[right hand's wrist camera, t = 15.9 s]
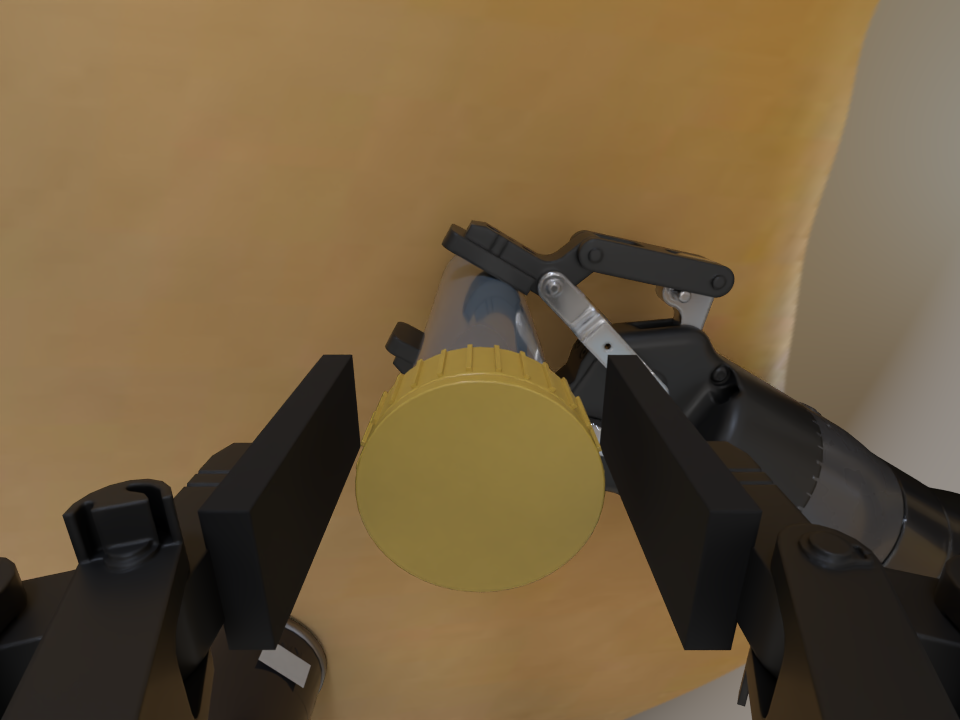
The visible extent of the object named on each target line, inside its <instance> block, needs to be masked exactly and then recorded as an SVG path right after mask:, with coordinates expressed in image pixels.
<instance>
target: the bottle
mask: <svg viewBox="0 0 960 720" xmlns="http://www.w3.org/2000/svg"><path fill="white" fill-rule="evenodd" d="M469 344H472V345H473V347H490V348H494V345H499V347H500V349H504V350H509V351H513V352H516V353H520V351H523V352H525V355H526V356H527V357H529V358H531V359H534V360H536V361H538V362H539V363H541V364H543V362H546V360H545V357H544V354H543V351H542V347H541V344H540V341H539V338H538V335H537V332H536V329H535V326H534V323H533V320H532V317H531V314H530V311H529V308H528V305H527V302H526V299H525V295H524V294H523V293H521V292H519V291H518V290H516V289H514V288H513V287H511V286H510V285H508V284H506V283H504V282H502V281H501V280H499V279H497V278H495V277H494V276H492V275H490V274H488V273H487V272H485V271H483V270H482V269H480V268H478V267H476V266H475V265H473V264H471V263H470V262H468V261H466V260H464V259H463V258H461V257H459V256H458V255H455V256H454V257H453V258H452V259H451V260H450V261H449V263H448V264H447V266H446V268H445V270H444V273H443V276H442V279H441V282H440V285H439V288H438V291H437V294H436V297H435V300H434V303H433V306H432V309H431V312H430V315H429V318H428V321H427V325H426V328H425V331H424V334H423V337H422V340H421V343H420V346H419V349H418V352H417V355H416V358H415V361H414V364H413V367H415V366H416V365H417V361H418V360H420V359H422V360H423V361H425V360H427V359H429V358H431V357H433V356H435V355H438V354H441V350H443V349H446V350H447V351H451V350H456V349H461V348H467V345H469ZM413 367H412V368H413Z"/></svg>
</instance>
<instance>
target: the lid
mask: <svg viewBox="0 0 960 720" xmlns="http://www.w3.org/2000/svg"><path fill="white" fill-rule="evenodd" d="M360 445H361V446H363V450H362V452H361V455H360V457H359V460H358V462H357V465H356V469H357V471H356V479H355V490H356V500H357V505H358V510H359V513H360V516H361V518H362V521H363V524H364V526H365V528H366V530H367V531H368V533H369V535H370V537H371V538H372V539H373V541H374V542H375V544H376V545H377V547H378V548H379V549H380V550H381V551H382V552H383V553H384V554H385V555H386V556H387V557H388V558H389V559H390V560H391V561H393V562H394V563H395V564H396V565H397V566H399V567H400V568H402V569H403V570H405V571H406V572H408V573H409V574H411V575H413V576H415V577H417V578H419V579H421V580H423V581H426V582H428V583H431V584H434V585H437V586H440V587H444V588H448V589H452V590H459V591H466V592H494V591H502V590H508V589H513V588H516V587H520V586H524V585H527V584H529V583H532V582H535V581H537V580H540V579H542V578H543V577H545V576H547V575H549V574H551V573H553V572H554V571H556V570H557V569H559V568H560V567H562V566H563V565H564V564H566V563H567V562H568V561H569V560H570V559H571V558H573V557H574V556H575V555H576V554H577V553H578V551H579V550H580V549H581V548H582V547H583V546H584V545H585V543H586V542H587V540H588V539H589V537H590V536H591V534H592V533H593V531H594V529H595V527H596V525H597V522H598V520H599V517H600V514H601V511H602V508H603V503H604V497H605V471H604V468H603V464H602V460H601V457H600V454H599V452H600V451H602V449H601V446H600V444H599V441H598V439H597V437H596V434H595V432H594V430H593V427H592V425H591V422H590V420H589V418H588V415H587V413H586V410H585V408H584V406H583V403H582V401H581V399H580V397H579V396H577V397H575V396H574V395H573V393H572V392H571V390H570V387H569V384H568V382H567V380H566V379H565V378H564V377H563V378H562V379H560V377H558V376H557V375H556V374H555V373H554V372H552V371H551V370H550V369H549V366H548V364H547V363H546V362H543V364H541V363H539V362H538V361H536V360H534V359H531V358H529V357H527V356H526V355H525V352H523V351H520V353H516V352H513V351H509V350H504V349H500V347H499V345H494V348H490V347H473V345H472V344H469V345H467V348H461V349H456V350H451V351H447V350H446V349H443V350H441V354H438V355H435V356H433V357H431V358H429V359H427V360H425V361H423V360H422V359H420V360H418V361H417V365H416V366H415V367H413V368H412V369H410V370H409V371H408V372H407V373H406V374H405V375H403V374H402V373H400V374H399V375H398V377H397V379H396V382H395V384H394V386H393V387H392V388H391V389H390V391H389V392H388V393H387V392H386V391H384V393H383V395H382V397H381V399H380V402H379V404H378V407H377V409H376V411H375V412H374V413H373V415H372V418H371V420H370V422H369V425H368V427H367V430H366V432H365V434H364V437H363V439H362V441H361V444H360Z"/></svg>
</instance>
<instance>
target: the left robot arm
mask: <svg viewBox="0 0 960 720" xmlns="http://www.w3.org/2000/svg"><path fill="white" fill-rule="evenodd" d="M442 245H443V246H444V247H445V248H446V249H448V250H449V251H451V252H452V253H454V254H456V255H458V256H459V257H461V258H463V259H464V260H466V261H468V262H470V263H471V264H473V265H475V266H476V267H478V268H480V269H482V270H483V271H485V272H487V273H488V274H490V275H492V276H494V277H495V278H497V279H499V280H501V281H502V282H504V283H506V284H508V285H510V286H511V287H513V288H514V289H516V290H518V291H519V292H521V293H523V294H525V295H526V296H527V294H528V293H529V291H532V292H534V293H536V294H537V295H539V296H540V297H541V298H542V300H543V301H544V302H545V303H546V304H547V305H548V306H549V307H550V308H551V309H552V310H553V311H554V312H555V313H556V314H557V315H558V316H559V317H560V318H561V319H562V321H563V322H564V323H565V324H566V325H567V326H568V327H569V328H570V329H571V330H572V331H573V333H574V334H575V335H576V336H577V338H578V339H577V341H576V342H575V344H574V345H573V347H572V350H571V353H570V356H569V359H568V362H567V363H566V364H565V365H564V366H563V367H562V368H561V369H560V370H558V371H557V372H556V373H555V374H556V375H557V376H558V377H560V379H562V378H563V377H564V378H565V379H566V380H567V382H568V384H569V387H570V390H571V392H572V393H573V395H574V396H575V397H577V396H579V397H580V399H581V401H582V403H583V406H584V408H585V410H586V413H587V415H588V418H589V420H590V422H591V425H592V427H593V430H594V432H595V434H596V437H597V439H598V441H599V444H600V434H601V423H602V413H603V402H604V391H605V380H606V369H607V358H608V355H637V356H638V357H639V358H640V359H641V361H642V362H643V363H644V364H645V366H646V367H647V368H648V369H649V371H650V372H651V373H652V374H653V376H654V377H655V378H656V379H657V381H658V382H659V383H660V384H661V386H662V387H663V388H664V389H665V391H666V392H667V393H668V394H669V395H670V397H671V398H672V399H673V400H674V402H675V403H676V404H677V405H678V407H679V408H680V409H681V410H682V412H683V413H684V414H685V415H686V417H687V418H688V419H689V420H690V422H691V423H692V424H693V425H694V427H695V428H696V429H697V430H698V432H699V433H700V434H701V435H702V437H703V438H704V439H705V440H706V441H727V442H729V443H730V444H732V445H734V446H736V447H737V448H739V449H741V450H742V451H744V452H746V453H747V454H749V455H750V457H751V458H752V459H753V460H754V461H755V462H756V463H757V464H758V465H759V466H760V468H761V469H762V472H765V473H766V474H767V475H768V476H769V477H770V479H771V480H772V481H773V484H774V485H777V486H778V487H779V488H780V489H781V491H782V492H783V493H784V494H785V495H786V496H787V497H788V498H789V499H790V500H791V502H792V503H793V504H794V505H795V506H796V507H797V508H798V509H799V510H800V511H801V513H802V514H803V515H804V516H805V517H806V518H807V519H808V520H809V521H810V522H811V523H812V524H818V525H821V526H825V527H828V528H832V529H835V530H838V531H840V532H842V533H844V534H846V535H849V536H851V537H853V538H855V539H857V540H858V541H859V542H861V543H862V544H863V545H865V546H866V547H868V548H869V549H870V550H872V552H873V553H874V554H875V555H876V557H877V558H878V559H879V560H880V562H881V563H882V565H883V567H886V568H890V569H895V570H899V571H904V572H909V573H914V574H919V575H923V576H928V577H933V578H938V579H939V578H940V576H941V573H942V571H943V568H944V566H945V563H946V561H947V560H949V559H950V558H952V557H953V556H955V555H960V494H958V493H954V492H950V491H945V490H940V489H935V488H929V487H927V486H926V485H924V484H922V483H921V482H919V481H918V480H916V479H914V478H913V477H911V476H909V475H908V474H906V473H904V472H903V471H901V470H899V469H898V468H896V467H894V466H893V465H891V464H889V463H888V462H886V461H884V460H883V459H881V458H879V457H878V456H876V455H875V454H873V453H872V452H870V451H869V450H868V449H867V448H866V447H865V446H864V445H862V444H861V443H860V442H859V441H858V440H856V439H855V438H854V437H853V436H851V435H850V434H849V433H848V432H846V431H845V430H843V429H842V428H840V427H839V426H837V425H836V424H834V423H832V422H830V421H829V420H827V419H826V418H824V417H822V416H821V414H820V413H819V412H817V411H816V410H815V409H814V408H812V407H810V406H808V405H806V404H804V403H801V402H797V401H796V400H794V399H793V398H791V397H789V396H788V395H786V394H784V393H783V392H781V391H779V390H778V389H776V388H774V387H773V386H771V385H769V384H768V383H766V382H764V381H763V380H761V379H759V378H758V377H756V376H754V375H753V374H751V373H749V372H748V371H746V370H744V369H743V368H741V367H740V366H738V365H736V364H735V363H733V362H731V361H730V360H728V359H726V358H725V357H723V356H721V355H720V354H718V353H717V352H716V351H715V350H714V348H713V346H712V344H711V342H710V339H709V338H708V336H707V335H706V334H705V333H704V332H703V331H702V328H703V326H704V323H705V321H706V318H707V315H708V313H709V310H710V307H711V305H712V302H713V299H714V298H717V297H721V296H724V295H725V294H727V293H728V292H729V291H730V290H731V288H732V287H733V284H734V274H733V272H732V271H731V270H730V269H729V268H727V267H725V266H723V265H721V264H719V263H716V262H714V261H712V260H709V259H707V258H705V257H702V256H700V255H696V254H691V253H687V252H682V251H678V250H673V249H668V248H664V247H659V246H655V245H650V244H646V243H641V242H637V241H632V240H628V239H623V238H618V237H614V236H609V235H605V234H600V233H596V232H591V231H586V230H582V231H579V232H577V233H575V234H574V235H573V236H572V237H571V239H570V241H569V242H568V243H567V244H566V245H564V246H563V247H562V248H561V249H559V250H558V251H557V252H555V253H553V254H550V255H540V254H538V253H536V252H534V251H532V250H530V249H529V248H527V247H525V246H524V245H522V244H521V243H519V242H517V241H516V240H514V239H512V238H511V237H509V236H507V235H506V234H504V233H502V232H501V231H499V230H497V229H496V228H494V227H492V226H491V225H489V224H487V223H486V222H479V221H473V220H472V221H471V223H470V225H469V226H468V228H467V230H464V229H463V228H461V227H459V226H457V225H455V224H452V225H451V227H450V229H449V231H448V233H447V234H446V236H445V238H444V240H443V242H442ZM593 272H597V273H601V274H606V275H611V276H615V277H620V278H625V279H629V280H634V281H639V282H643V283H648V284H653V285H656V294H657V296H658V297H659V298H660V299H661V300H663V301H664V302H665V303H666V304H668V305H669V306H672V307H673V310H674V317H673V318H669V319H658V320H648V321H638V322H627V323H616V324H612V323H611V322H610V321H609V320H608V319H607V318H606V317H605V316H604V315H603V314H602V313H601V311H600V310H599V309H598V308H597V307H596V306H595V305H594V304H593V303H592V302H591V301H590V300H589V298H588V297H587V296H586V295H585V294H584V293H583V292H582V291H581V290H580V289H579V288H578V287H577V286H576V285H577V284H579V283H580V282H581V281H582V280H584V279H585V278H586V277H588V276H589V275H590V274H591V273H593ZM423 334H424V333H423V332H422V331H420V330H418V329H416V328H414V327H412V326H410V325H409V324H406V323H404V322H398V323H397V325H396V327H395V328H394V330H393V332H392V334H391V336H390V338H389V340H388V342H387V343H386V345H385V347H386V349H387V350H388V351H389V352H390V353H391V354H393V355H394V356H396V357H395V360H394V362H393V364H394V365H395V366H396V367H397V369H398V370H399V371H400V372H401V373H402V374H404V375H405V374H406V373H407V372H408V371H409V370H410V369H412V367H413V364H414V361H415V358H416V355H417V352H418V349H419V346H420V343H421V340H422V337H423ZM599 454H600V457H601V460H602V464H603V468H604V471H605V491H609V492H613V493H616V494H618V495H620V494H619V492H618V489H617V487H616V485H615V482H614V480H613V477H612V475H611V473H610V470H609V468H608V465H607V463H606V461H605V458H604V456H603V454H602V451H600V452H599ZM210 650H211V654H212V658H213V664H214V676H213V684H212V692H211V700H210V707H209V715H208V720H310V719H311V716H312V712H313V709H314V705H315V702H316V699H317V695H318V693H319V691H320V690H321V687H322V684H323V681H324V678H325V674H326V658H325V654H324V652H323V649H322V647H321V646H320V644H319V642H318V641H317V640H316V638H315V637H314V636H313V635H312V634H311V633H310V632H309V631H308V630H307V629H305V628H304V627H303V626H301V625H300V624H298V623H297V622H295V621H293V620H291V619H288V621H287V624H286V626H285V628H284V631H283V633H282V636H281V638H280V640H279V643H278V645H277V648H276V650H229V647H228V643H227V638H226V634H225V630H224V625H222V627H221V629H220V631H219V633H218V634H217V636H216V638H215V640H214V642H213V643H212V645H211V647H210Z"/></svg>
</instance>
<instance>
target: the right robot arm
mask: <svg viewBox="0 0 960 720" xmlns="http://www.w3.org/2000/svg"><path fill="white" fill-rule="evenodd" d="M360 446H361V445H360V434H359V423H358V412H357V402H356V391H355V380H354V369H353V358H352V355H323V356H322V357H321V358H320V359H319V361H318V362H317V363H316V364H315V366H314V367H313V368H312V369H311V371H310V372H309V373H308V374H307V376H306V377H305V378H304V379H303V381H302V382H301V383H300V384H299V386H298V387H297V388H296V389H295V391H294V392H293V393H292V394H291V396H290V397H289V398H288V399H287V400H286V402H285V403H284V404H283V405H282V407H281V408H280V409H279V410H278V412H277V413H276V414H275V415H274V417H273V418H272V419H271V420H270V422H269V423H268V424H267V425H266V427H265V428H264V429H263V430H262V432H261V433H260V434H259V435H258V437H257V438H256V439H255V440H254V441H253V443H233V444H231V445H229V446H228V447H226V448H224V449H223V450H221V451H219V452H218V453H216V454H214V455H213V456H212V457H211V458H210V459H209V460H208V461H207V462H206V463H205V464H204V465H203V467H202V468H201V469H200V470H199V473H198V474H195V475H194V476H193V478H192V479H191V480H190V481H189V482H188V483H187V487H184V488H183V489H182V490H181V491H180V492H179V493H178V494H177V495H176V496H175V497H174V499H173V495H172V491H171V487H170V486H168V485H167V484H166V483H164V482H163V481H158V480H152V479H140V480H129V481H125V482H121V483H117V484H113V485H109V486H107V487H104V488H102V489H100V490H97V491H95V492H92V493H90V494H88V495H87V496H85V497H84V498H82V499H80V500H79V501H77V502H76V503H74V504H73V505H72V506H71V507H70V508H69V509H68V510H67V511H66V512H65V513H64V514H63V518H64V521H65V524H66V527H67V530H68V533H69V536H70V539H71V542H72V545H73V548H74V551H75V554H76V557H77V560H78V563H79V564H78V566H77V568H76V570H72V571H67V572H63V573H58V574H53V575H48V576H44V577H39V578H34V579H29V580H25V581H21V578H20V576H19V573H18V571H17V568H16V566H15V564H14V563H13V562H12V561H10V560H9V559H7V558H4V557H0V720H208V715H209V707H210V700H211V692H212V684H213V676H214V664H213V658H212V654H211V650H210V647H211V645H212V643H213V642H214V640H215V638H216V636H217V634H218V633H219V631H220V629H221V627H222V625H224V630H225V634H226V638H227V643H228V647H229V650H276V648H277V645H278V643H279V640H280V638H281V636H282V633H283V631H284V628H285V626H286V624H287V621H288V619H289V616H290V614H291V612H292V609H293V607H294V605H295V602H296V600H297V597H298V595H299V593H300V590H301V588H302V585H303V583H304V581H305V578H306V576H307V573H308V571H309V569H310V566H311V564H312V561H313V559H314V557H315V554H316V552H317V549H318V547H319V545H320V542H321V540H322V537H323V535H324V533H325V530H326V528H327V525H328V523H329V521H330V518H331V516H332V513H333V511H334V509H335V506H336V504H337V501H338V499H339V497H340V494H341V492H342V489H343V487H344V485H345V482H346V480H347V477H348V475H349V473H350V470H351V468H352V466H353V463H354V461H355V458H356V456H357V454H358V451H359V449H360ZM600 446H601V449H602V454H603V456H604V458H605V461H606V463H607V465H608V468H609V470H610V473H611V475H612V477H613V480H614V482H615V485H616V487H617V489H618V492H619V494H620V497H621V499H622V501H623V504H624V506H625V509H626V511H627V513H628V516H629V518H630V521H631V523H632V525H633V528H634V530H635V533H636V535H637V537H638V540H639V542H640V545H641V547H642V549H643V552H644V554H645V557H646V559H647V561H648V564H649V566H650V569H651V571H652V573H653V576H654V578H655V581H656V583H657V585H658V588H659V590H660V593H661V595H662V597H663V600H664V602H665V604H666V607H667V609H668V612H669V614H670V616H671V619H672V621H673V624H674V626H675V628H676V631H677V633H678V636H679V638H680V640H681V643H682V645H683V648H684V650H731V647H732V643H733V638H734V634H735V630H736V625H737V623H738V624H739V626H740V628H741V630H742V632H743V633H744V635H745V637H746V639H747V641H748V642H749V644H750V650H749V654H748V658H747V662H746V666H745V670H744V674H743V678H742V682H741V686H740V690H739V696H738V703H737V704H739V705H742V706H745V704H746V700H747V696H748V694H749V698H750V706H751V713H752V720H960V555H955V556H953V557H952V558H950V559H949V560H947V561H946V563H945V566H944V568H943V571H942V573H941V576H940V578H939V579H938V578H933V577H928V576H923V575H919V574H914V573H909V572H904V571H899V570H895V569H890V568H886V567H883V565H882V563H881V562H880V560H879V559H878V558H877V557H876V555H875V554H874V553H873V552H872V550H870V549H869V548H868V547H866V546H865V545H863V544H862V543H861V542H859V541H858V540H857V539H855V538H853V537H851V536H849V535H846V534H844V533H842V532H840V531H838V530H835V529H832V528H828V527H825V526H821V525H818V524H812V523H811V522H810V521H809V520H808V519H807V518H806V517H805V516H804V515H803V514H802V513H801V511H800V510H799V509H798V508H797V507H796V506H795V505H794V504H793V503H792V502H791V500H790V499H789V498H788V497H787V496H786V495H785V494H784V493H783V492H782V491H781V489H780V488H779V487H778V486H777V485H774V484H773V481H772V480H771V479H770V477H769V476H768V475H767V474H766V473H765V472H762V469H761V468H760V466H759V465H758V464H757V463H756V462H755V461H754V460H753V459H752V458H751V457H750V455H749V454H747V453H746V452H744V451H742V450H741V449H739V448H737V447H736V446H734V445H732V444H730V443H729V442H727V441H706V440H705V439H704V438H703V437H702V435H701V434H700V433H699V432H698V430H697V429H696V428H695V427H694V425H693V424H692V423H691V422H690V420H689V419H688V418H687V417H686V415H685V414H684V413H683V412H682V410H681V409H680V408H679V407H678V405H677V404H676V403H675V402H674V400H673V399H672V398H671V397H670V395H669V394H668V393H667V392H666V391H665V389H664V388H663V387H662V386H661V384H660V383H659V382H658V381H657V379H656V378H655V377H654V376H653V374H652V373H651V372H650V371H649V369H648V368H647V367H646V366H645V364H644V363H643V362H642V361H641V359H640V358H639V357H638V356H637V355H608V358H607V369H606V380H605V391H604V402H603V413H602V423H601V434H600Z"/></svg>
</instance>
